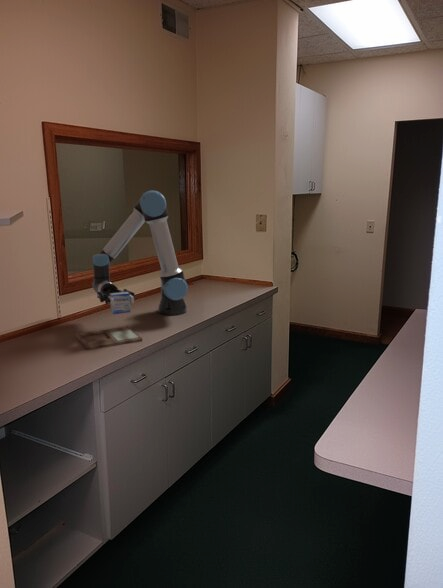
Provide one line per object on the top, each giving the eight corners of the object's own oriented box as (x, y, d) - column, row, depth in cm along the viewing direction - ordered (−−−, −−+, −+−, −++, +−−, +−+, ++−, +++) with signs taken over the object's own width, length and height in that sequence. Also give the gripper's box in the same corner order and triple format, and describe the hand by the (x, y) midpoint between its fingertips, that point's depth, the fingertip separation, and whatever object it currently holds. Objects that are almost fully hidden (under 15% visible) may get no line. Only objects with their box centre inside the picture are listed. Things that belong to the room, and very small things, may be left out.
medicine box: (112, 314, 202) (111, 295, 200) (110, 312, 205) (109, 292, 203) (130, 312, 205) (129, 293, 203) (127, 309, 209) (126, 291, 207)
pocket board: (127, 328, 221) (127, 326, 221) (142, 340, 204) (142, 338, 204) (75, 335, 209) (75, 333, 209) (86, 349, 193) (86, 347, 192)
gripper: (129, 295, 225) (146, 306, 206) (86, 301, 215) (99, 312, 196) (129, 280, 223) (146, 290, 204) (85, 285, 213) (98, 295, 194)
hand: (123, 301), depth 200 cm, fingers closed on medicine box, 8 cm apart
